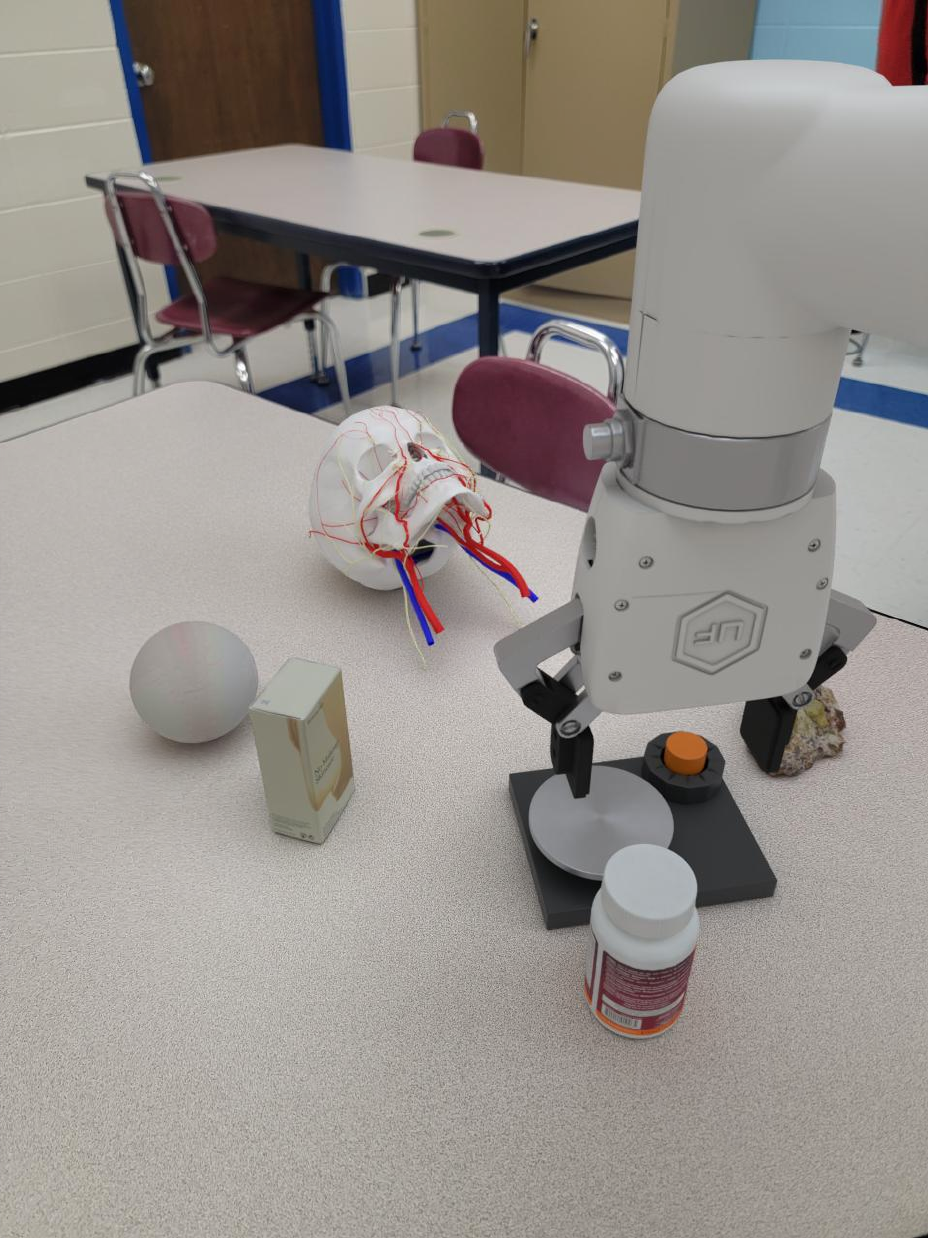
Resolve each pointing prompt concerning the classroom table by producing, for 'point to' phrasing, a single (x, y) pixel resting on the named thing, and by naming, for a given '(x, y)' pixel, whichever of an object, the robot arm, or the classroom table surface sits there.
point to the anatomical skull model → (399, 508)
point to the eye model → (193, 681)
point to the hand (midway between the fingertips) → (666, 764)
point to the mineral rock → (814, 733)
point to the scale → (701, 837)
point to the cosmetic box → (303, 748)
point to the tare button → (685, 753)
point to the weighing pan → (597, 820)
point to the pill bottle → (641, 941)
